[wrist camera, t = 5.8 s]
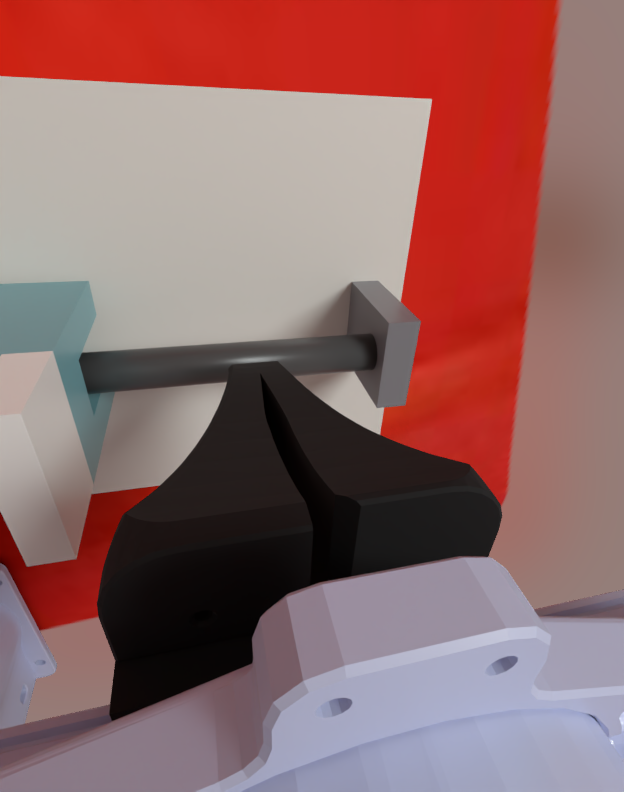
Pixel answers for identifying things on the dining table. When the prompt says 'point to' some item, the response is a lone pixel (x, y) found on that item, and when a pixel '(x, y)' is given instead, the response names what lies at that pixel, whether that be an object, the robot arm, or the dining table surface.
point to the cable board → (215, 245)
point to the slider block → (47, 417)
